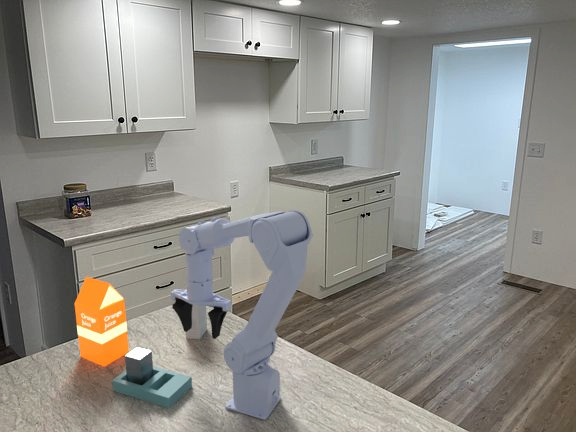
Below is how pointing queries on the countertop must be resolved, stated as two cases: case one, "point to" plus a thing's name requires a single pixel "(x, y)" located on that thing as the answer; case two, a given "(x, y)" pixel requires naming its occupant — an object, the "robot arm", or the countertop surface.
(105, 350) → the orange juice
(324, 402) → the countertop surface
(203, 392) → the countertop surface
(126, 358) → the peg
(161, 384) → the holder
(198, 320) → the skincare box
